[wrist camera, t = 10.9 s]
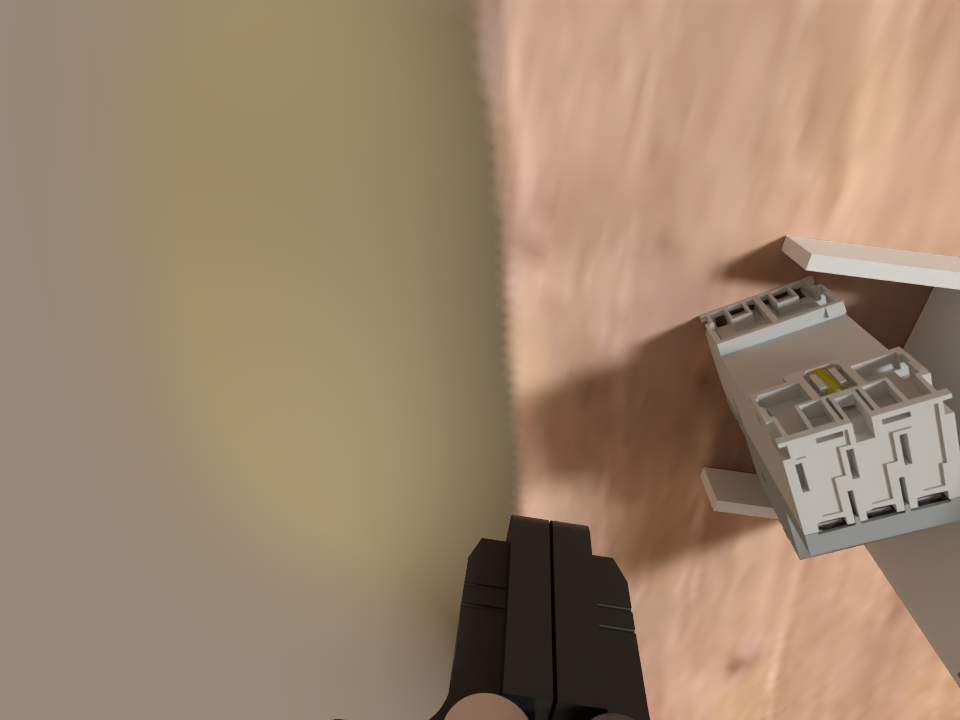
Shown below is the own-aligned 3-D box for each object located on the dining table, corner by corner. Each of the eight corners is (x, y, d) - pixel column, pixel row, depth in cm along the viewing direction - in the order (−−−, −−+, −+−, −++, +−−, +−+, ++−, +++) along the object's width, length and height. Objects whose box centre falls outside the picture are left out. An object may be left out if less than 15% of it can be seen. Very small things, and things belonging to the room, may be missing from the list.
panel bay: (786, 235, 38) (1001, 392, 21) (968, 258, 38) (1343, 437, 20) (700, 476, 48) (797, 726, 30) (845, 496, 47) (1030, 760, 30)
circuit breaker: (748, 467, 47) (832, 631, 34) (699, 315, 41) (776, 439, 28) (849, 438, 45) (980, 600, 32) (811, 275, 39) (951, 388, 26)
